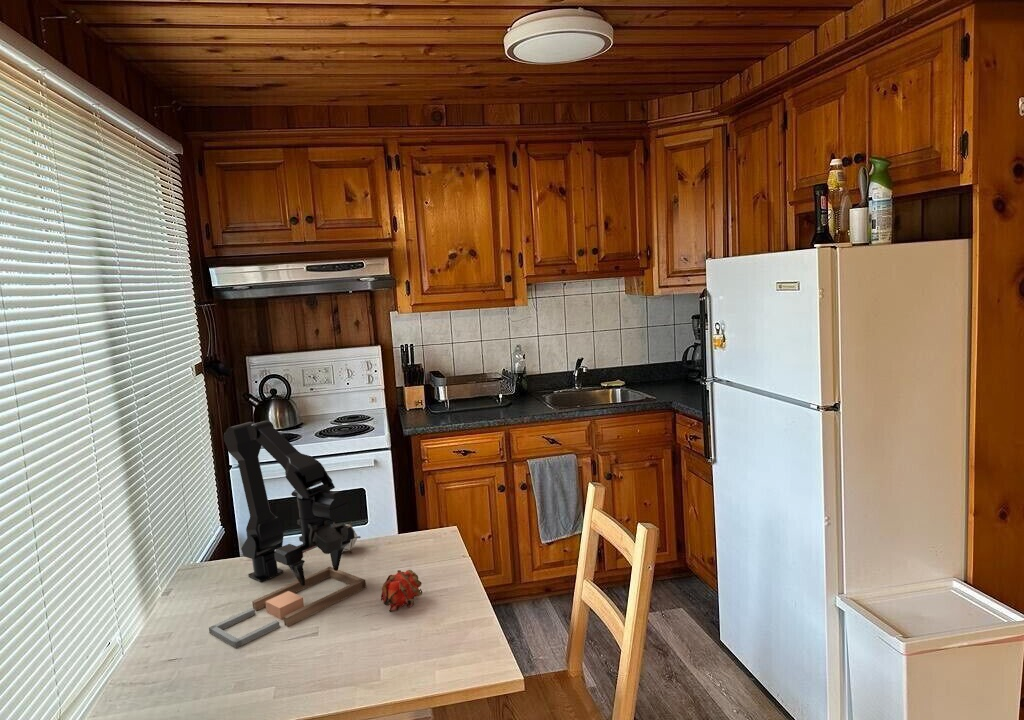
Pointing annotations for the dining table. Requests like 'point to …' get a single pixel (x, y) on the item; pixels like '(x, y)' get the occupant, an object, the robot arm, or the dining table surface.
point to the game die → (351, 544)
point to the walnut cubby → (353, 587)
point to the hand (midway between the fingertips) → (319, 577)
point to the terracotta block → (284, 604)
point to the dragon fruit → (401, 589)
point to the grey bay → (237, 642)
